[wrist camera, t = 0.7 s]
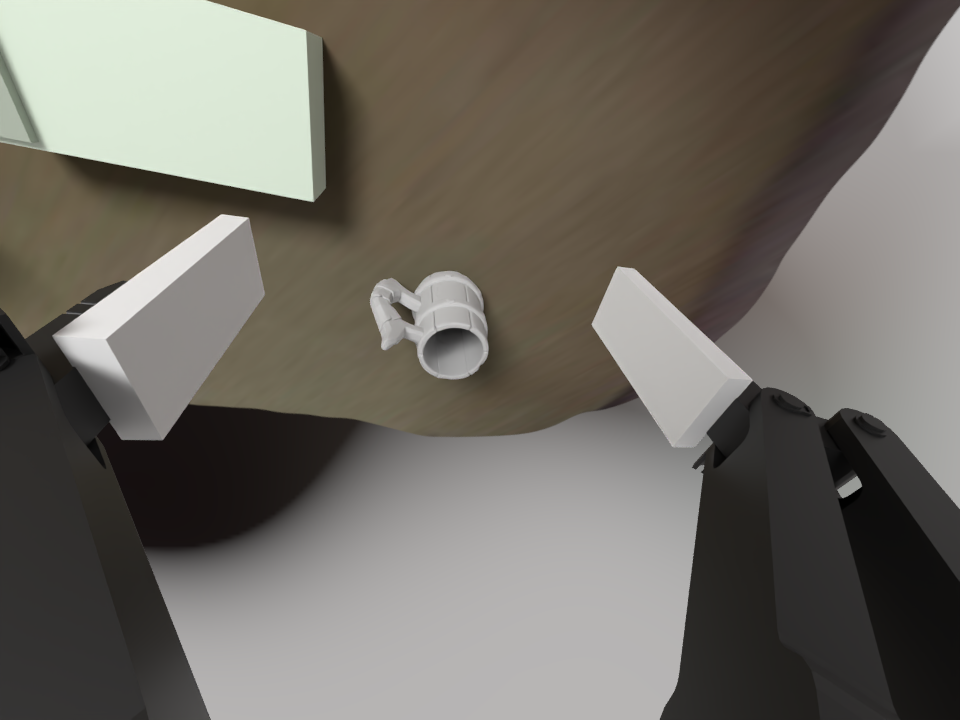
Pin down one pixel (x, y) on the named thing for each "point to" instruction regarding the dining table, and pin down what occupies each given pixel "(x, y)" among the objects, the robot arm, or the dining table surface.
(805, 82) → the dining table surface
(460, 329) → the mug
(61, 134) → the pale green block
